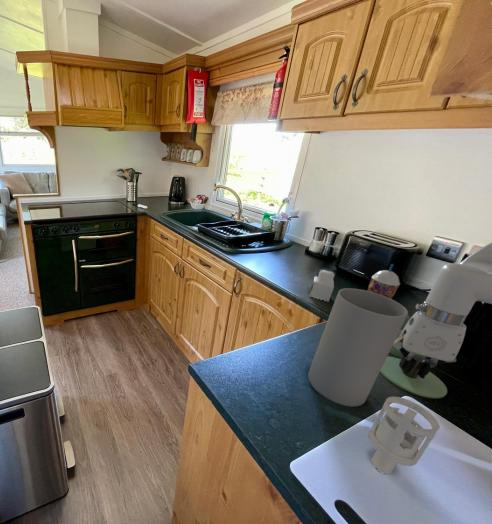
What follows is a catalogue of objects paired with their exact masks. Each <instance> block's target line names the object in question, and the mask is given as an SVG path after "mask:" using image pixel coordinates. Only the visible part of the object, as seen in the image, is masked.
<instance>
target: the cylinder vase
mask: <svg viewBox="0 0 492 524" xmlns="http://www.w3.org/2000/svg"><path fill="white" fill-rule="evenodd" d="M408 315H409V311H408V310H407V308H406V307H405V306H404V305H403V304H401V303H399V302H398V301H396V300H394V299H393V298H392V299H390V298H387V297H385V296H382V295H380V294H377V293H373V292H370V291H367V290H365V289H361V288H360V289H359V288H351V287H349V288H347V287H346V288H341V289H339V290H338V292H337V295H336V297H335V299H334V303H333V305H332V308H331V311H330V314H329V317H328V319H327V321H326V325H325V327H324V330H323V332H322V335H321V337H320V341H319V343H318V346H317V348H316V352H315V354H314V357H313V359H312V361H311V365H310V367H309V370H308V374H307V378H308V381H309V383H310V385H311V387H312V388H313V389H314V390H315V391H316V392H317V393H318V394H320V395H321V396H322V397H325V398H326V399H328V400H329V401H331V402H332V403H333V402H334V403H336V404H338V405H342V406H345V407H353V408H354V407H355V408H356V407H360V406H362V405H364V404H365V403H366V401H367V399H368V396H369V395H370V393H371V391H372V388H373V387H374V384H375V383H376V381H377V378H378V376H379V374H380V370H381V368H382V366H383V364H384V362H385V360H386V358H387V357H389V356H388V355H389V354H390V349H391V347H392V345H393V343H394V341H395V339H396V337H397V335H398V333H399V331H400V329H401V327H402V325H403V323H404V321H405V319H406V317H407V316H408Z"/></svg>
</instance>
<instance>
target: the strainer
mask: <svg viewBox="0 0 492 524" xmlns="http://www.w3.org/2000/svg"><path fill="white" fill-rule="evenodd" d="M390 404H397V405H401V406H404V407H407V409H406V411H405V412H404V413H402V412H400V411H399V410H400V408H399V407H392V406H391V405H390ZM417 414H420V415H421V416H422V417H423V418H424V419H425V420H426V421H427V422H428V423H429V425H430V426H431V428H424V427H423V426H422V425H421V424H420V423H418V422H417V421H416V420H414V419H415V417H416V416H417ZM439 430H440V423H439V421H438V420H437V419H436V418H435V416H434V415H433V414H432V413H431V412H429V411H428V410H427V409H426V408H424V407H422V406H421V405H420V404H418V403H416V402H413V401H412V400H410V399H407V398H404V397H400V396H389V397H387V398H386V399H385V401H384V402H383V405H382V406H381V408H380V411H379V413H378V414H377V416H376V418H375V420H374V422H373V424H372V426H371V428H370V430H369V432H368V438H369V440H370V443H371V444H372V445H373V446H374V448H375V449H376V450H375V452H374V454H373V456H371V459H370V462H371V461H372V463H373V465H374V466H375V467H376V468H377V469H378V470H380V471H381V472H383V473H387V474H388V475H390V474H391V473H392V472H393V470H394V469H395V467H396V464H399V465H401V466H406V467H413V466H416V464H417V463H418V462H419V460H420V459H421V457H422V456H423V454H424V453H425V451H426V449H427V448H428V446H429V445H430V444H431V442H432V440H433V439H434V438H435V436H436V434H437V433H438V431H439ZM425 438H426V439H425ZM424 439H425V440H424ZM372 463H371V464H372ZM373 465H372V466H373ZM374 466H373V467H374ZM377 469H376V470H377ZM378 470H377V471H378ZM381 472H380V473H381ZM383 473H382V474H383ZM389 473H390V474H389ZM387 474H386V475H387Z"/></svg>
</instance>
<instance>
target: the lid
mask: <svg viewBox="0 0 492 524" xmlns="http://www.w3.org/2000/svg"><path fill="white" fill-rule="evenodd" d="M401 359H402V358H400V357H396V356H395V357H394V356H387V358H386V360H385V362H384V364H383V366H382V368H381V370H380V372H379V374H380V375H382V376H383V377H384V378H385V379H386V380H388V381H389V382H391V383H392V384H393V385H395V386H397V387H398V388H400V389H403V390H404V391H406V392H409V393H411V394H413V395H417V396H419V397H422V398H428V399H434V400H435V399H443V398H445V397H446V396H447V394H448V388H447V386H446V384H445V383H444V382H443V381H442V380H441V379H440V378H439V377H437V375H435V374H434V373H432V372H431V371H429V373H428V375H426V376H425V377H424V379H423V378H420V377H419V373H420V371H421V369H422V367H423V366H424V364H425V362H426V361H425V360H424V359H423V358H421V357H419V356H416V355H414V357H413V358H412V362H413V364H412V366H411V368H410V370H409V371H408V373H407V374H405V373H403V371H402V370H401V368H400V366H399V363H400V361H401Z"/></svg>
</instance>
